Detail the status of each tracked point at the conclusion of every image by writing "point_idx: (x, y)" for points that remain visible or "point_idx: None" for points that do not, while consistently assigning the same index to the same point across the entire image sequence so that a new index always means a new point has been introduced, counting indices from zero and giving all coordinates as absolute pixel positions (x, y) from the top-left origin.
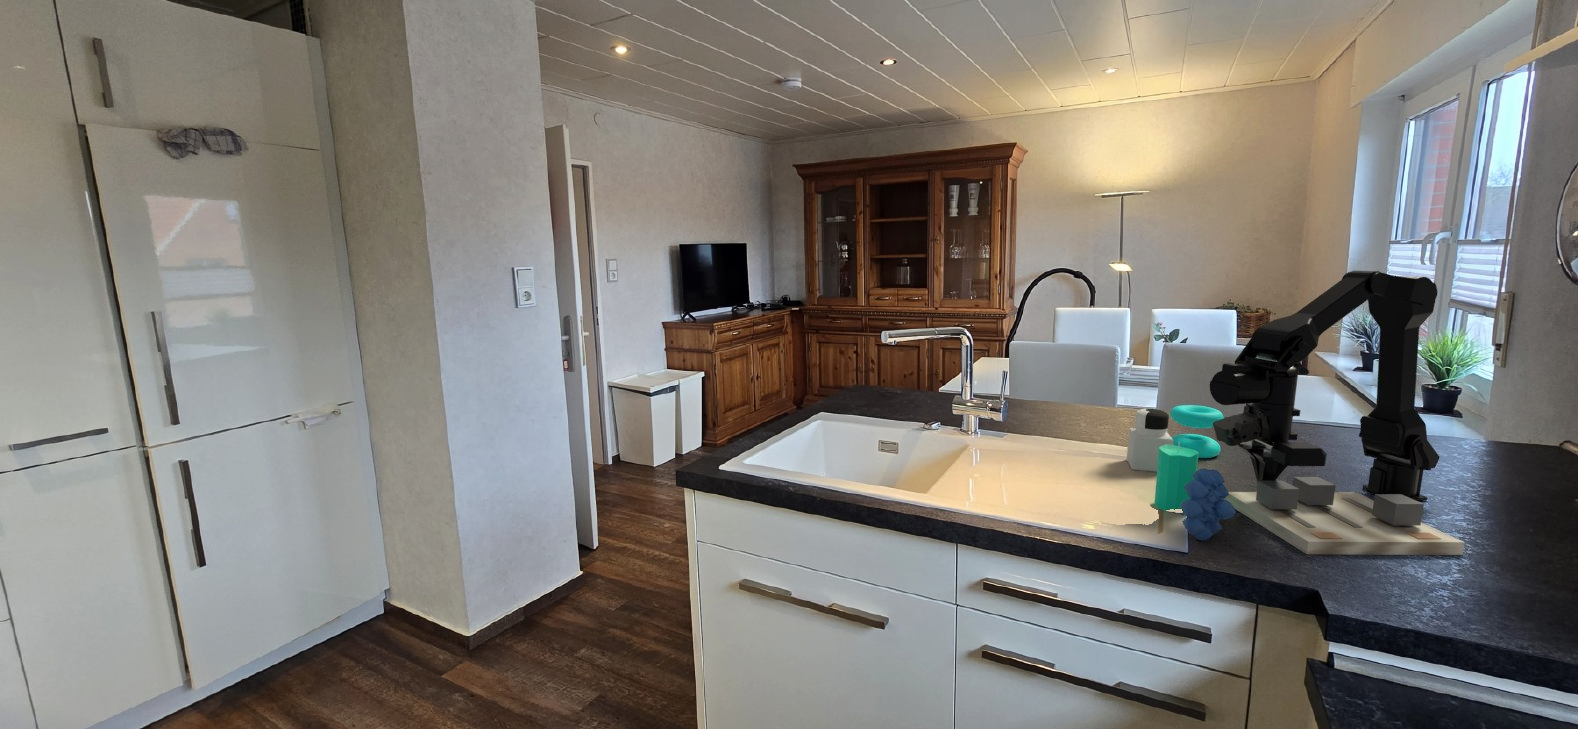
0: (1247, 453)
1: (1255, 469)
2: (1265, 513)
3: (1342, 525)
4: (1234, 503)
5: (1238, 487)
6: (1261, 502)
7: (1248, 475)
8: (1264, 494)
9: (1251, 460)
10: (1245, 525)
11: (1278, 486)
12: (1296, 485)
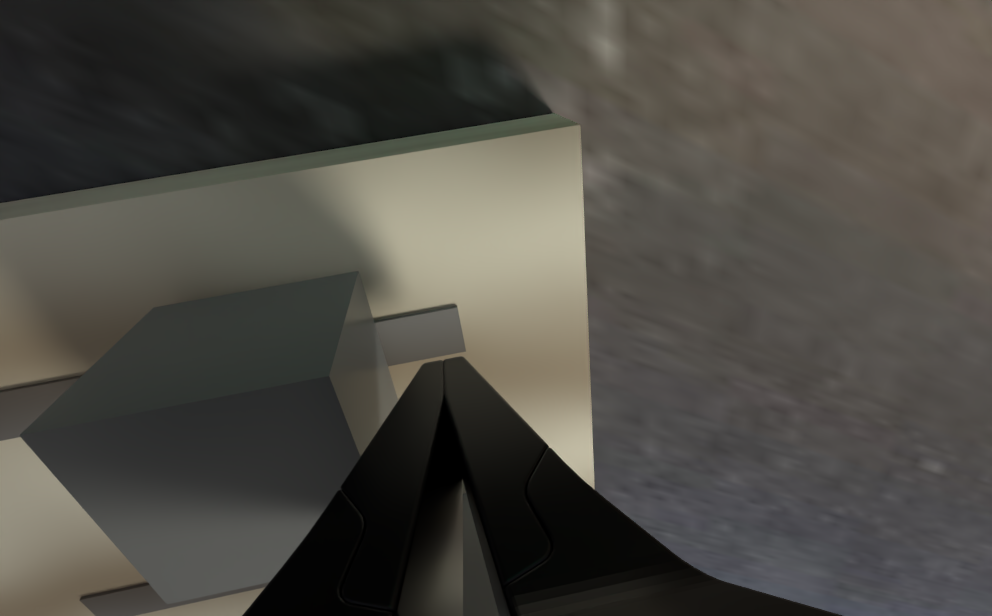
0: (732, 601)
1: (506, 454)
2: (81, 238)
3: (87, 565)
4: (449, 135)
5: (807, 308)
6: (282, 287)
7: (938, 409)
8: (232, 336)
9: (619, 520)
10: (57, 56)
11: (166, 494)
12: (466, 576)
